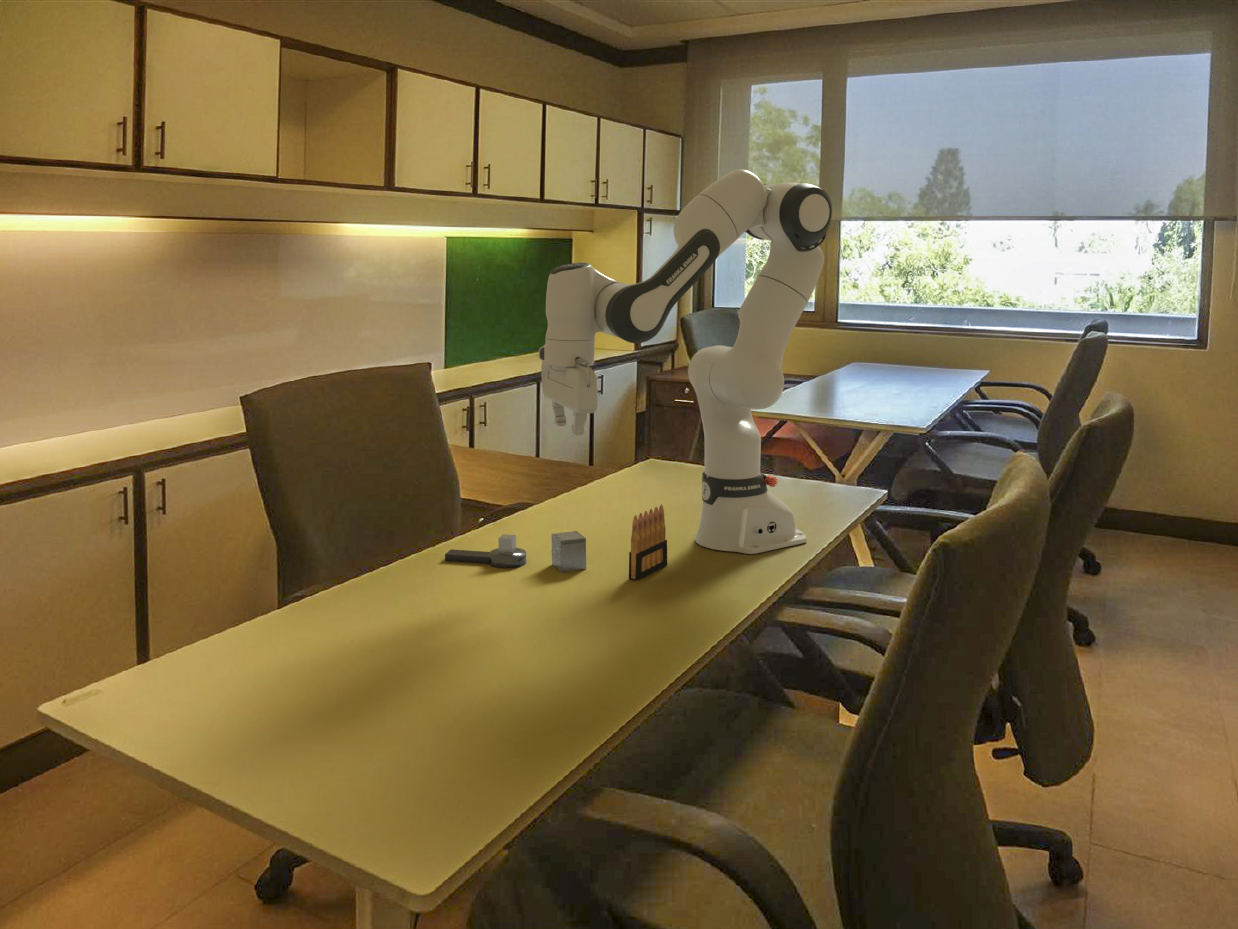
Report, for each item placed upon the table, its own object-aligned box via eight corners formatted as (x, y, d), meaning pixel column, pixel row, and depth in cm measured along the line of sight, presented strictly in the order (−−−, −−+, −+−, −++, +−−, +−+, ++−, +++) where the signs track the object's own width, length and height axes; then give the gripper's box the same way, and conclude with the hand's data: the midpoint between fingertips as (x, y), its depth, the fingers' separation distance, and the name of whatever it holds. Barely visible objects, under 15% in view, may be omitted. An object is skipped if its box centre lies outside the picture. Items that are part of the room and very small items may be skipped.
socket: (576, 561, 205) (576, 531, 203) (586, 569, 200) (585, 538, 199) (552, 564, 203) (551, 533, 201) (560, 572, 198) (560, 541, 197)
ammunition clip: (636, 581, 193) (637, 517, 191) (628, 579, 194) (628, 515, 192) (667, 565, 202) (668, 504, 199) (659, 563, 203) (659, 502, 200)
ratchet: (530, 558, 207) (530, 532, 205) (520, 569, 200) (519, 543, 199) (454, 553, 210) (453, 527, 209) (441, 564, 203) (440, 538, 202)
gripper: (607, 361, 185) (605, 439, 188) (567, 348, 203) (566, 419, 206) (572, 361, 183) (571, 441, 186) (535, 348, 201) (535, 421, 204)
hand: (568, 430), depth 196 cm, fingers open, 8 cm apart
